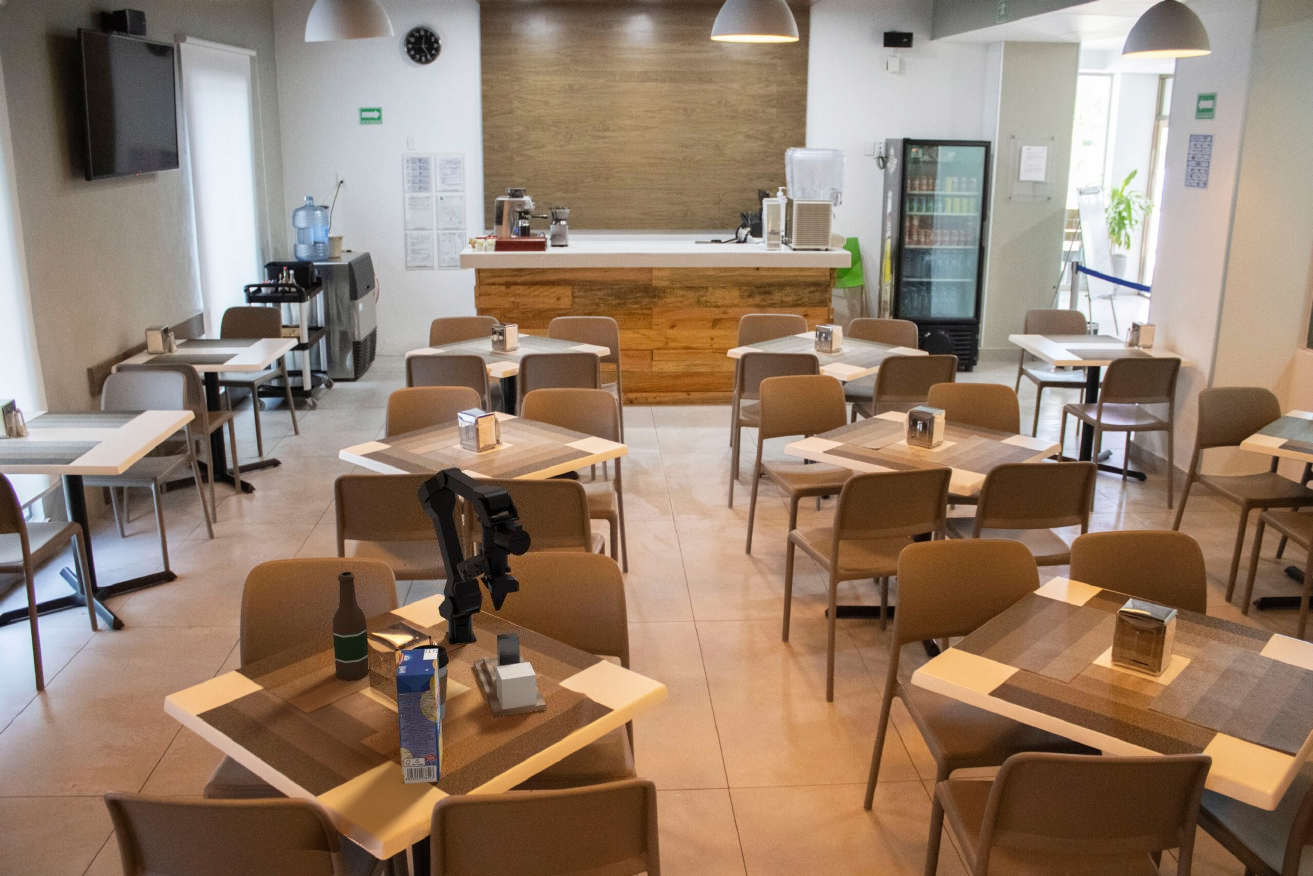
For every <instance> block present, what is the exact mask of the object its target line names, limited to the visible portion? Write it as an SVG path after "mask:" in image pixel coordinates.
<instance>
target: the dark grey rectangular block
mask: <svg viewBox="0 0 1313 876" xmlns="http://www.w3.org/2000/svg"><path fill="white" fill-rule="evenodd" d="M496 648H497V651H496V652H497V658H498V666H504V665H511V664H518V663H520V654H521V653H520V652H521V651H520V636H519V634H518V632H512V633H511V632H510V633H504V634H498V635H497V634H496Z"/></svg>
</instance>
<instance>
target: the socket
mask: <svg viewBox="0 0 1313 876" xmlns="http://www.w3.org/2000/svg"><path fill="white" fill-rule="evenodd" d="M496 680H497V697H498V699H499V702H500V704H501V706H502V709H509V708H515V707H522V706H528V705H535V704H537V702H536V685H537V675H536V672H535V670H534V668H533V666H532V664H531V663H530V661H525V663H518V664H511V665H504V666H497V667H496Z"/></svg>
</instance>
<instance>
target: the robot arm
mask: <svg viewBox="0 0 1313 876" xmlns="http://www.w3.org/2000/svg"><path fill="white" fill-rule="evenodd" d="M457 495H458V496H460V497H461V498H463V499H465V500H466V501H468V502H469V503H470V504H472V510H473V511H474V512H475V513H476V515H478V517H477V518H476V522H477V523H480V526H481V527H480V528H481V530H480V531H481V546H480V547H479V549H478V554H476V555H474V556H471V557H469V558H467V559H465V556H464V554H463V549H462V545H461V541H460V538H459V533H458V530H457V529H458V528H457V525H456V522H455V517H454V511H455V508H456V505H457V497H456V496H457ZM417 498H418V501H419V503H420V505H421V507H422V510H423V511H424V513H425V514H427V516H428V517H430V518H431V520H432V522H433V527H434V530H435V534H436V539H437V542H438V546H439V550H440V555H441V558H442V562H443V565H444V571H445V573H446V583H445V585H444V589H443V595H444V596H443V597H444V599H443V600H442V601H441V603H440V604H439V606H438V607H437V609H438V614H439V616H440V617H441V618H443V619H445V620H446V621H447V623H448V625H447V626H448V631H446V632H445V636H446V639H447V641H448V644H449V645H457V644H465V643H475V642H477V637H476V635H475V633H474V630H473V615H475V614H479V613H481V609H482V604H483V600H484V599H483V598H484V597H483V592H482V590H481V588H480V582H479V580H478V579H477V578H478V577H479V576H482V575H483V576H482V577H480V578H479V579H480V581H481V582H482V583H483V585H484V586H485V588H486V590H488V591H489V592H488V593H489V594H490V599H491V603H492V606H493V608H494V610H495V611H501V609H502V606H503V605H504V602H505V599H506V597H507V595H508V594H511V593H518V592H520V582H519V580H518V579H517V578H516V577H515V576H514V575H512V574H509V573H511V572H512V569H511V566H510V565H509V556H510V555H513V556H517V557H520V556H523V555H525V554H526V553H527V552H528V551H529V550H530V548H531V544H532V538H531V536H530V534H529V533H528V531H526V530H524V529H523V524H521V523H518V522H517V521H520V516H519V514H518V513H519V510H518V508H517V507H516V505H515V504H514V503H515V502H513V499H512V497H511V495H510V493H509V491H508V490H506V488H504V487H501V486H497V485H486V484H483V483H482V482H480V481H478V480H476V479H475V478H473V477H471V476H470V475H468V474H466V473H465V472H463V471H462V470H461V468H460V467H457V466H456V467H455V466H454V467H449V468H444V469H440V471H438V472H437V473H436V474H435V475H434V476H432V477H431V478H429V479H427V480H425V481H424V482H422V483H421V484H420V486H419V488H418V490H417ZM507 513H508V514H507ZM499 515H500V516H499ZM516 522H517V523H516Z"/></svg>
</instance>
